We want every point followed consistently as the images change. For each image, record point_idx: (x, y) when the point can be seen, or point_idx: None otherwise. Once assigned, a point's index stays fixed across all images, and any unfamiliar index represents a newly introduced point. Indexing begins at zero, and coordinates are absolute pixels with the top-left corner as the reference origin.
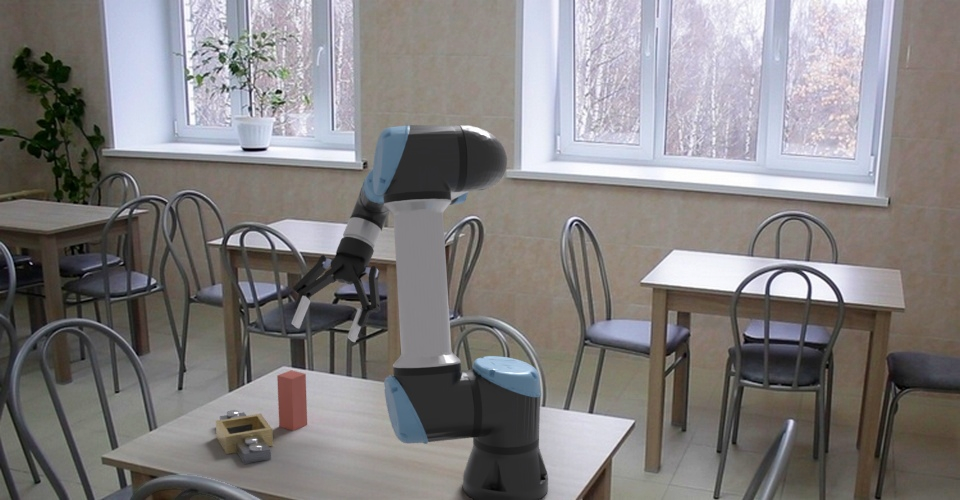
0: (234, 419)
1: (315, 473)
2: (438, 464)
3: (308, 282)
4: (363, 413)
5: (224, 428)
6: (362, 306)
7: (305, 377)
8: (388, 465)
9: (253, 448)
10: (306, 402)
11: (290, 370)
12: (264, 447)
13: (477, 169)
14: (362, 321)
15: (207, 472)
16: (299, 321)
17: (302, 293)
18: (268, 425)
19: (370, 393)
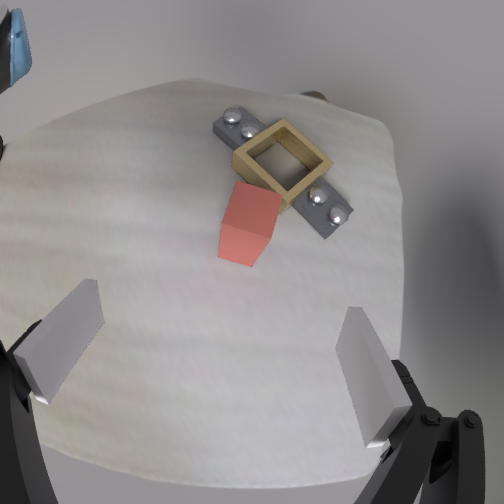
0: (312, 172)
1: (143, 119)
2: (16, 188)
3: (439, 495)
4: (144, 340)
5: (303, 141)
6: (6, 367)
7: (221, 226)
8: (63, 164)
9: (231, 108)
10: (219, 244)
11: (271, 235)
12: (224, 125)
13: None
14: (32, 328)
15: (269, 97)
16: (346, 347)
17: (422, 414)
18: (246, 161)
19: (178, 437)
